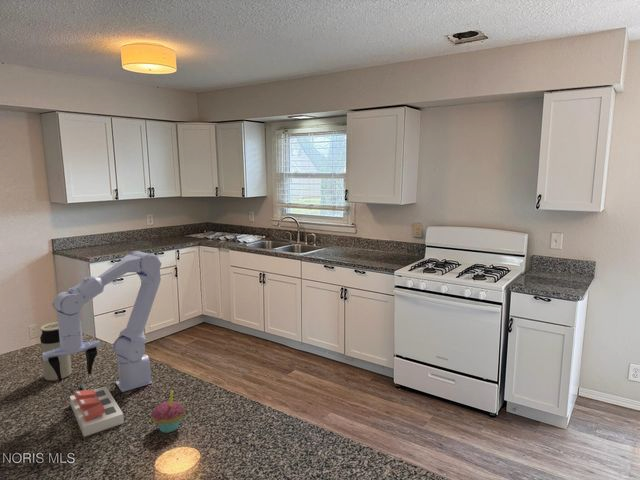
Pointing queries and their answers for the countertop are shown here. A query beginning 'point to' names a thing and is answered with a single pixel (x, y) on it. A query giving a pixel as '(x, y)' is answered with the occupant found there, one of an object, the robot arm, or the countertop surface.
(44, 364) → the travel mug
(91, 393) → the rocker
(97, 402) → the rocker middle
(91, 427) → the power strip
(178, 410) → the cupcake
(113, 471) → the countertop surface
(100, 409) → the rocker
